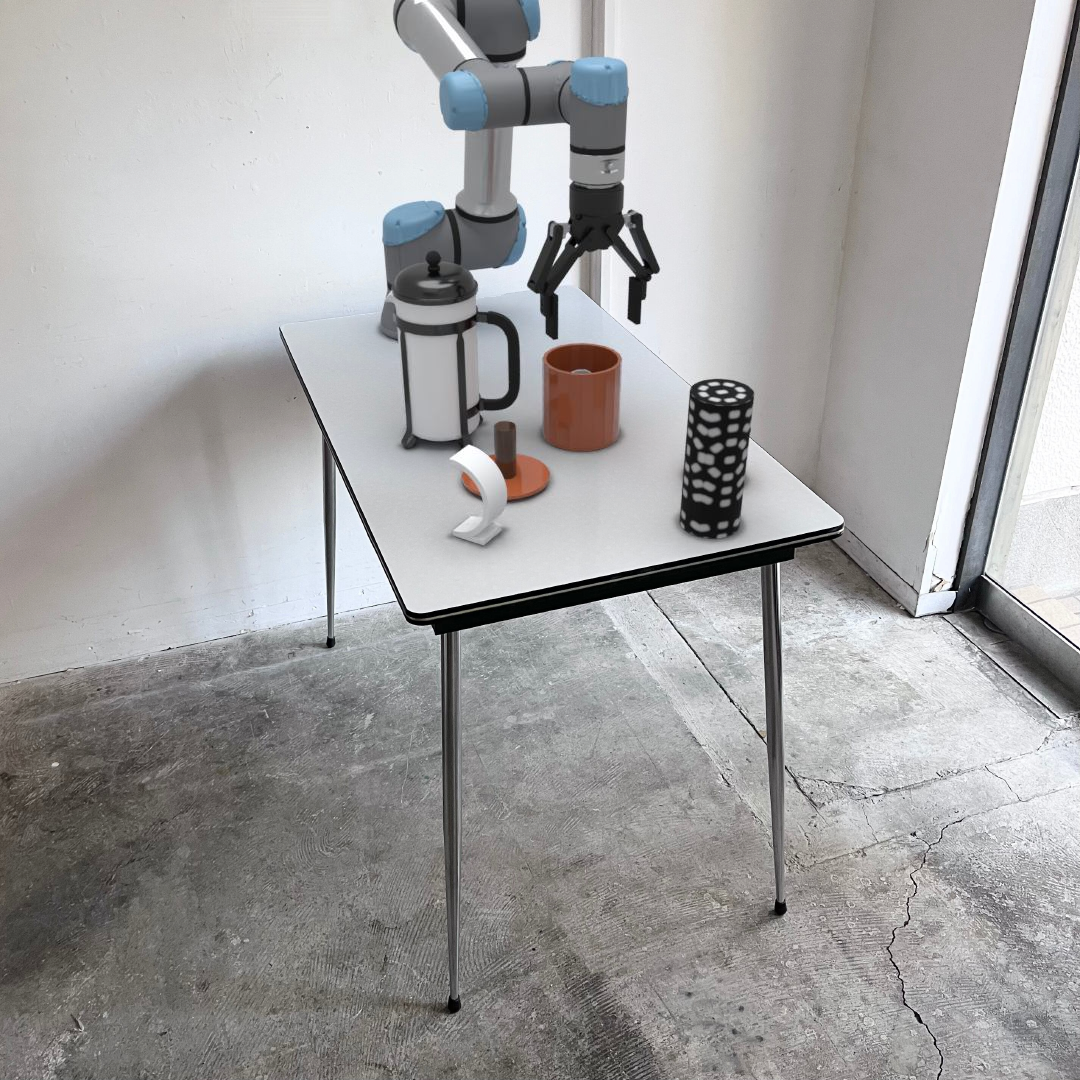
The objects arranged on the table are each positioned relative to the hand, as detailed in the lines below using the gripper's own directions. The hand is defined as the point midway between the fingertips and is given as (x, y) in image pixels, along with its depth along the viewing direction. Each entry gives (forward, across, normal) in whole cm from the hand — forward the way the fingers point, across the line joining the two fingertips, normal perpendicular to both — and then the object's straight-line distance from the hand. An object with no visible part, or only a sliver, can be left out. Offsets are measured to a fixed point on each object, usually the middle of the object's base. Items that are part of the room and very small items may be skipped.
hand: (593, 329), depth 160 cm
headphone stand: (+20, -25, -16) cm, 36 cm away
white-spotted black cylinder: (+20, +5, -27) cm, 34 cm away
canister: (+20, +1, +5) cm, 20 cm away
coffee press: (+20, -18, +14) cm, 30 cm away
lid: (+19, -16, -4) cm, 25 cm away
